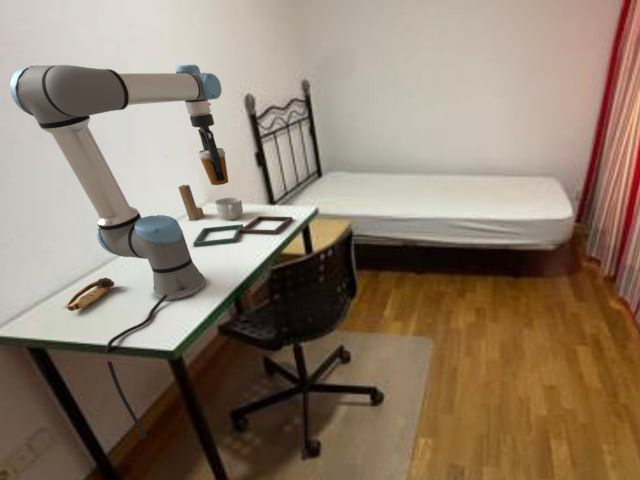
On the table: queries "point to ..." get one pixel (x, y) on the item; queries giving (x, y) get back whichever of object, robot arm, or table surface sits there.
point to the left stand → (220, 241)
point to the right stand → (267, 218)
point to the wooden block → (190, 203)
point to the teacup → (229, 208)
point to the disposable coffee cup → (209, 168)
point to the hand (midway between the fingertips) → (218, 178)
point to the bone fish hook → (90, 294)
